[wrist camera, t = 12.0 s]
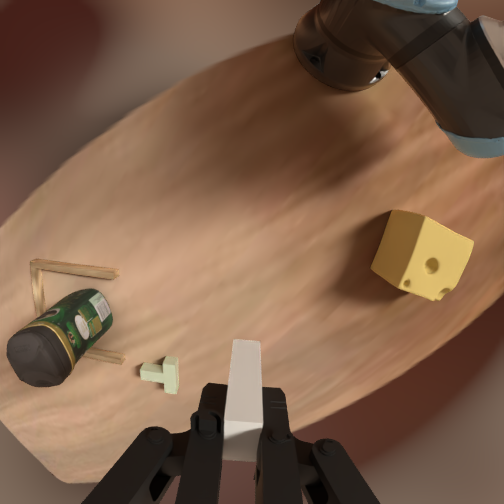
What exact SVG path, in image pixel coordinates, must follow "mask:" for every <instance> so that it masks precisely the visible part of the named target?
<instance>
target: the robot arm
mask: <svg viewBox="0 0 504 504" xmlns="http://www.w3.org/2000/svg"><path fill="white" fill-rule="evenodd" d="M457 2H458V0H320V3H319V4H317V5H316V6H314V7H313V8H312V9H310V10H309V11H307V12H306V13H305V14H304V15H303V16H302V17H301V19H300V20H299V22H298V24H297V26H296V29H295V32H294V37H293V44H294V49H295V52H296V55H297V57H298V59H299V61H300V62H301V64H302V65H303V66H304V68H305V69H306V70H307V71H308V72H309V73H310V74H311V75H313V76H314V77H315V78H316V79H318V80H319V81H321V82H323V83H325V84H327V85H329V86H331V87H334V88H337V89H341V90H347V91H358V90H364V89H367V88H370V87H372V86H373V85H375V84H376V83H378V82H379V81H380V80H382V79H383V78H384V77H385V75H386V74H387V73H388V71H389V69H390V67H391V65H392V66H393V67H394V68H395V70H396V71H397V72H398V73H399V74H400V75H401V76H402V78H403V79H404V80H405V81H406V82H407V84H408V85H409V86H410V87H411V88H412V90H413V91H414V92H415V93H416V95H417V96H418V97H419V98H420V100H421V101H422V102H423V103H424V105H425V106H426V107H427V109H428V110H429V111H430V113H431V114H432V116H433V117H434V118H435V120H436V124H437V125H438V127H439V128H440V129H441V130H442V131H443V132H444V133H445V134H446V135H447V136H448V138H449V139H450V141H451V142H452V144H453V145H454V146H455V147H456V148H457V149H458V150H459V151H461V152H462V153H464V154H465V155H467V156H470V157H475V158H493V157H499V156H503V155H504V21H498V20H495V19H492V18H489V17H486V16H480V17H479V18H477V19H476V20H474V21H473V22H470V21H469V20H468V19H467V18H466V17H465V15H464V14H463V13H462V12H461V11H460V10H459V9H458V8H457ZM190 420H191V429H190V430H188V431H186V432H182V433H174V434H170V432H169V431H168V430H166V429H164V428H162V427H157V426H155V427H148V428H145V429H144V430H143V431H142V432H141V433H140V434H139V435H138V436H137V438H136V439H135V440H134V441H133V443H132V444H131V445H130V446H129V447H128V449H127V450H126V451H125V452H124V453H123V455H122V456H121V457H120V458H119V460H118V461H117V462H116V463H115V464H114V466H113V467H112V468H111V469H110V470H109V471H108V473H107V474H106V475H105V476H104V477H103V479H102V480H101V481H100V482H99V483H98V485H97V486H96V487H95V488H94V489H93V491H92V492H91V493H90V494H89V495H88V496H87V497H86V499H85V500H84V501H83V502H82V503H81V504H159V503H160V501H161V500H162V498H163V496H164V495H165V493H166V491H167V490H168V488H169V486H170V485H171V483H172V482H173V480H174V478H175V477H176V476H179V475H181V478H180V483H179V487H178V492H177V497H176V501H175V504H218V501H219V500H218V499H219V490H220V480H221V470H222V459H224V460H235V461H251V462H256V458H257V465H256V470H255V475H254V480H255V504H303V500H302V492H301V489H302V491H303V493H304V495H305V497H306V499H307V502H308V504H380V502H379V501H378V499H377V498H376V496H375V495H374V494H373V492H372V490H371V489H370V487H369V486H368V485H367V483H366V482H365V480H364V479H363V477H362V476H361V474H360V472H359V471H358V469H357V468H356V466H355V465H354V463H353V462H352V460H351V459H350V457H349V456H348V454H347V453H346V451H345V449H344V448H343V446H342V445H341V444H340V443H339V442H337V441H335V440H332V439H320V440H318V441H316V442H315V443H314V444H312V443H308V442H303V441H300V440H298V439H297V438H295V437H294V436H293V434H292V433H291V431H290V427H289V420H288V412H287V405H286V397H285V394H284V392H283V391H282V390H281V389H280V388H271V387H262V376H261V350H260V341H251V340H239V339H234V340H233V349H232V357H231V365H230V373H229V382H228V385H224V384H215V383H208V384H207V385H206V386H205V387H204V388H203V390H202V394H201V399H200V403H199V408H198V411H196V412H195V413H193V414H192V416H191V418H190Z"/></svg>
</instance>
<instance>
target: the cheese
mask: <svg viewBox="0 0 504 504" xmlns="http://www.w3.org/2000/svg"><path fill="white" fill-rule="evenodd" d="M473 244H474V241H473V240H471V239H469V238H466V237H464V236H461V235H459V234H457V233H455V232H453V231H452V230H450V229H448V228H446V227H445V226H443V225H441V224H439V223H437V222H436V221H434V220H432V219H430V218H428V217H427V216H424V215H421V214H417V213H413V212H408V211H403V210H392V211H391V214H390V217H389V219H388V222H387V225H386V228H385V231H384V234H383V237H382V240H381V243H380V246H379V248H378V251H377V253H376V256H375V258H374V260H373V262H372V265H371V267H370V269H371V270H373V271H374V272H375V273H376V274H378V275H379V276H381V277H382V278H384V279H385V280H386V281H387V282H389V283H390V284H392V285H393V286H395V287H397V288H398V289H401V290H404V291H407V292H410V293H413V294H416V295H419V296H421V297H424V298H427V299H429V300H431V301H434V300H437V301H439V300H441V299H442V297H443V296H444V294H446V293H447V292H450V291H452V290H453V289H454V288H455V286H456V284H457V283H458V281H459V278H460V276H461V274H462V272H463V270H464V268H465V266H466V264H467V262H468V259H469V257H470V255H471V252H472V248H473Z"/></svg>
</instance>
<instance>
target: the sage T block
mask: <svg viewBox="0 0 504 504" xmlns="http://www.w3.org/2000/svg"><path fill="white" fill-rule="evenodd" d="M140 375H141V380H147V381H153V382H159V383H164V390H165V393H172V394H177V390H178V387H179V375H178V358H177V357H170V356H166V358H165V360H164V362H163V365H157V364H151V363H145V362H144V363H143V365H142V367H141V369H140Z"/></svg>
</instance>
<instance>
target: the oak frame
mask: <svg viewBox="0 0 504 504" xmlns="http://www.w3.org/2000/svg"><path fill="white" fill-rule="evenodd" d="M30 268H31V278H32V287H33V295H34V302H35V308H36V314H37V318H38V317H39V316H41V315H42V314H43V313H45V312H46V306H45V299H44V291H43V282H42V272H41V269H44V270H50V271H57V272H64V273H70V274H77V275H84V276H92V277H99V278H106V279H115V278H117V277H118V276H119V269H111V268H103V267H95V266H87V265H79V264H71V263H63V262H56V261H48V260H41V259H35V260H32V261H30ZM83 357H87V358H91V359H95V360H100V361H104V362H109V363H113V364H118V365H122V363H123V362H124V360H125V354H121V353H116V352H110V351H106V350H101V349H96V348H92V347H90V348H89V349H88V350H87V352H86V353H85V354H84V355H83Z"/></svg>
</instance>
